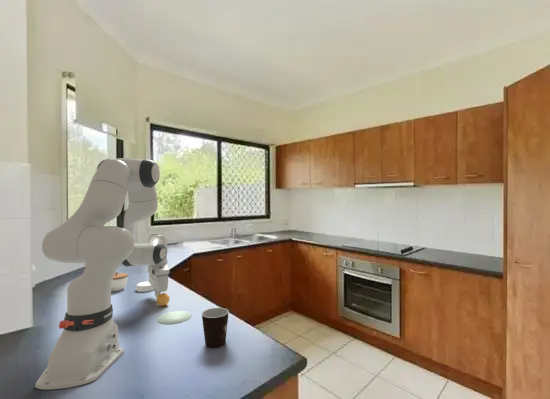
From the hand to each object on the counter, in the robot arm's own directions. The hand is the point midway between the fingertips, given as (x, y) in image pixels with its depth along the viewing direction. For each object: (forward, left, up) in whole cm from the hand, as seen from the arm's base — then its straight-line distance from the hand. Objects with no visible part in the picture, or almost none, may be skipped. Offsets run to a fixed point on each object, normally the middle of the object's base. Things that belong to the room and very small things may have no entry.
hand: (157, 296), depth 135 cm
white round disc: (+21, +10, -2) cm, 23 cm away
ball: (-8, -4, +1) cm, 9 cm away
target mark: (-24, -11, -2) cm, 26 cm away
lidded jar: (+24, +26, -2) cm, 35 cm away
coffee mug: (-48, -28, -2) cm, 56 cm away
